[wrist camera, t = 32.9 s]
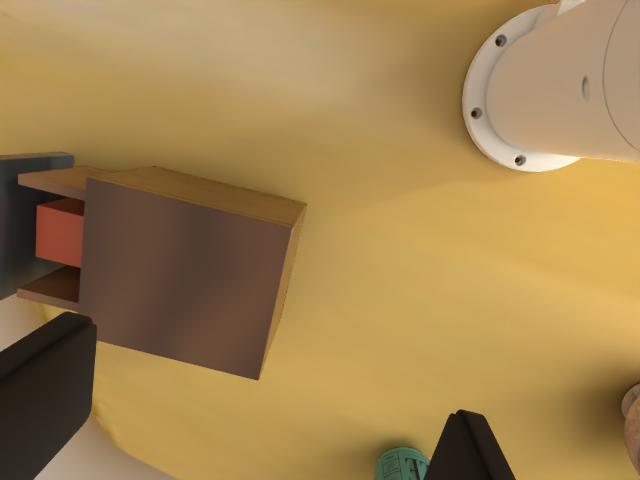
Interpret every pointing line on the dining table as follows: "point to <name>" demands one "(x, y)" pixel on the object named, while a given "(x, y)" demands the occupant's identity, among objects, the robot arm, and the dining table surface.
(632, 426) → the pottery
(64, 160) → the drawer
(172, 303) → the cabinet
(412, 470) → the beverage bottle
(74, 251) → the block
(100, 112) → the dining table surface
